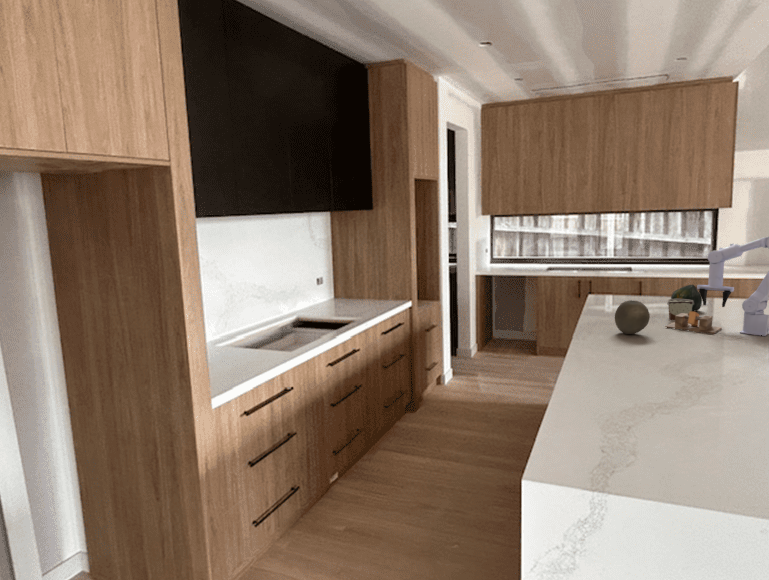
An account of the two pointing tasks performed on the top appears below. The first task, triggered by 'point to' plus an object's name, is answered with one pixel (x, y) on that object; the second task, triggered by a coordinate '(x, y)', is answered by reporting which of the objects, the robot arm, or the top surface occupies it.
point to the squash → (689, 295)
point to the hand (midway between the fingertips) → (713, 305)
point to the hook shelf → (703, 326)
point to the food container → (679, 307)
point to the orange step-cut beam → (693, 318)
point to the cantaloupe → (631, 317)
